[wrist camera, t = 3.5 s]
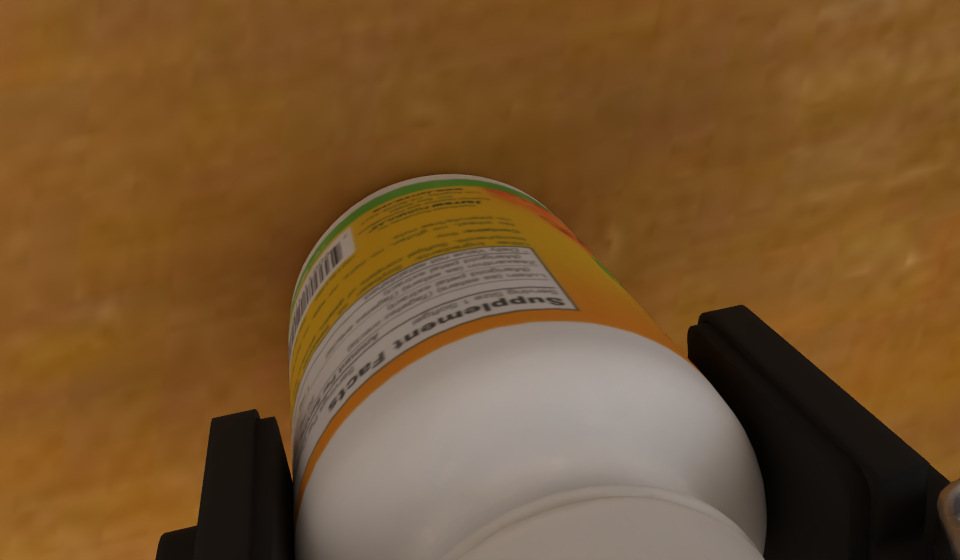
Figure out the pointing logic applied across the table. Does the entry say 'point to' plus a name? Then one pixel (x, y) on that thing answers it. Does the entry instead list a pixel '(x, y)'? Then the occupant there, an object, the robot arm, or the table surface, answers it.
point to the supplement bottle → (498, 396)
